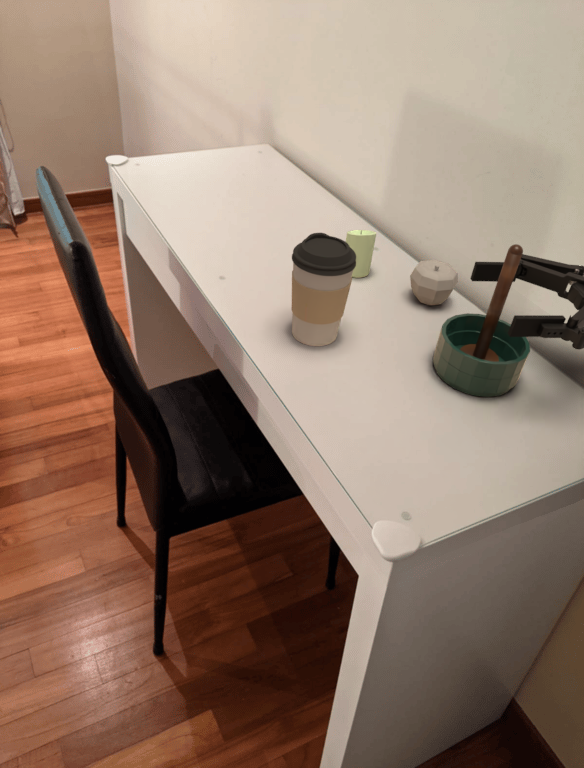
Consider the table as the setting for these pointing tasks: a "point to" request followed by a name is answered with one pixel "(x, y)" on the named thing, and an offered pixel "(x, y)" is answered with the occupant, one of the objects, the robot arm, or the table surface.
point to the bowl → (473, 371)
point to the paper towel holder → (496, 307)
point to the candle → (361, 250)
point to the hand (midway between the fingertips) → (491, 297)
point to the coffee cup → (320, 287)
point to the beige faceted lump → (433, 281)
